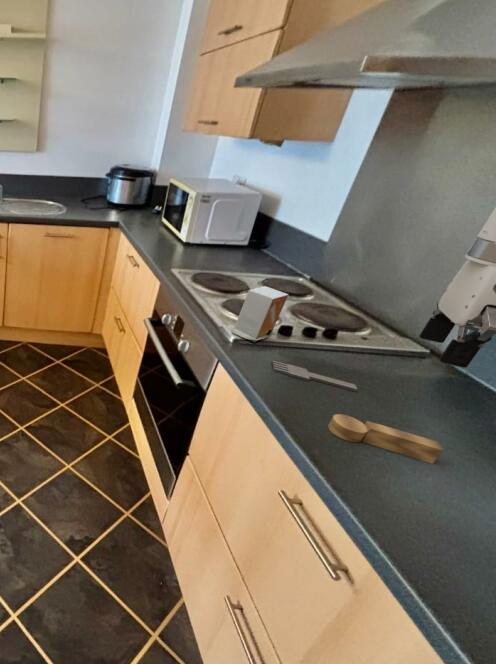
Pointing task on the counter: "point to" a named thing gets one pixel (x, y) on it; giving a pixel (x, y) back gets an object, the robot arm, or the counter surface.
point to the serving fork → (310, 375)
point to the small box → (260, 311)
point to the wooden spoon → (385, 438)
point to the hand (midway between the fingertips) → (440, 351)
